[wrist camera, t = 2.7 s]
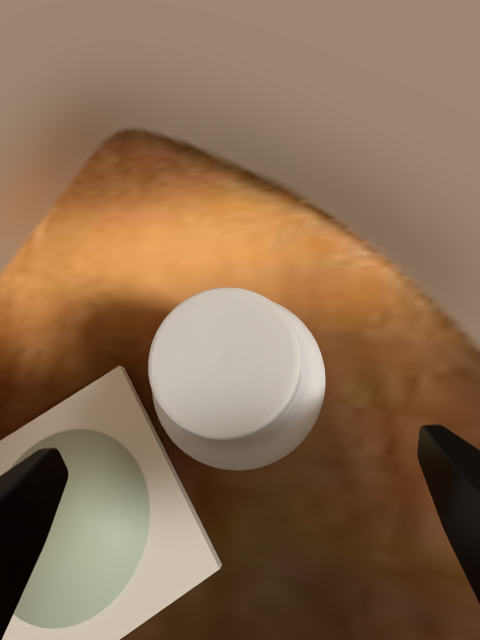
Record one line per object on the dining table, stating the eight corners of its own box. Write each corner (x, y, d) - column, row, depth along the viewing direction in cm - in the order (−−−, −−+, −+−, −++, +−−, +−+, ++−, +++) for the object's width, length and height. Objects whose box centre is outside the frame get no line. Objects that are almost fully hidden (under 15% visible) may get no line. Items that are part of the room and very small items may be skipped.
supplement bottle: (201, 359, 19) (119, 273, 10) (301, 346, 19) (314, 243, 9) (208, 467, 17) (112, 489, 8) (319, 455, 17) (360, 464, 7)
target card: (221, 564, 16) (219, 569, 15) (7, 716, 15) (-6, 728, 14) (124, 367, 20) (118, 365, 19) (-51, 478, 19) (-63, 479, 18)
